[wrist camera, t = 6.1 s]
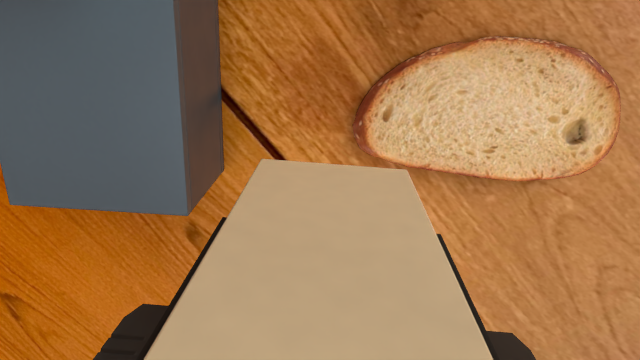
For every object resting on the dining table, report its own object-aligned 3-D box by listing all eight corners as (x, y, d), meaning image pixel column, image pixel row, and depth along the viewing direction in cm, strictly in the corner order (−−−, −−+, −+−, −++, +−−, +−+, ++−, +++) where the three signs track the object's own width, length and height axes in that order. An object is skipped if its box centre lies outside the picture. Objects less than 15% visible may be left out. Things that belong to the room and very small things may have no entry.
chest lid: (-48, -97, 24) (-162, -133, 19) (172, -88, 24) (122, -121, 18) (18, 200, 31) (-52, 238, 25) (192, 211, 30) (159, 252, 25)
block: (260, 158, 14) (112, 406, 5) (407, 169, 14) (534, 443, 5) (259, 282, 16) (146, 639, 7) (389, 293, 16) (458, 669, 7)
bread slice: (335, 124, 37) (334, 135, 33) (501, -47, 32) (521, -56, 28) (470, 250, 40) (482, 272, 37) (638, 116, 35) (671, 126, 32)
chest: (53, -55, 33) (-45, -82, 25) (216, -48, 33) (173, -72, 24) (87, 162, 39) (18, 199, 31) (224, 170, 39) (192, 210, 30)
